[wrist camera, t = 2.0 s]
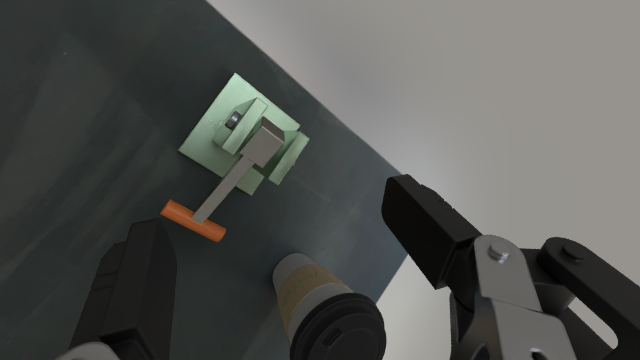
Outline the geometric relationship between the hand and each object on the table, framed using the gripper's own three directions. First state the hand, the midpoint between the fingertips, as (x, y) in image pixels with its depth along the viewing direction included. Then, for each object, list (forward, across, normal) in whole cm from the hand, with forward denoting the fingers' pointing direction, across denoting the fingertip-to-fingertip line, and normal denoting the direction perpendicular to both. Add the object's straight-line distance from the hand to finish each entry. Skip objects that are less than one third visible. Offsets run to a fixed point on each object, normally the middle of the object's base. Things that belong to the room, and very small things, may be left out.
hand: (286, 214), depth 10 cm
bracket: (+23, 0, +8) cm, 24 cm away
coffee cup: (+16, -4, +25) cm, 30 cm away
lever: (+14, +2, +7) cm, 16 cm away
